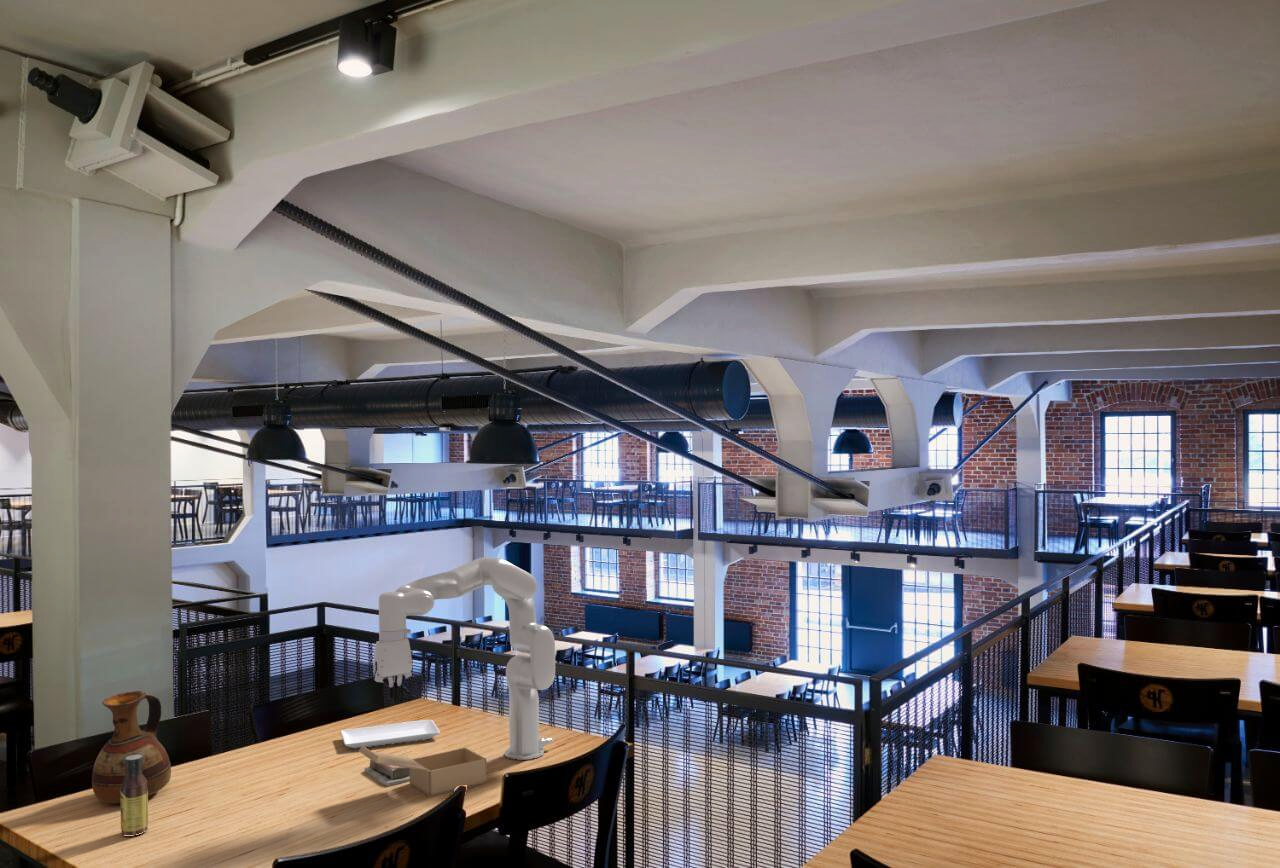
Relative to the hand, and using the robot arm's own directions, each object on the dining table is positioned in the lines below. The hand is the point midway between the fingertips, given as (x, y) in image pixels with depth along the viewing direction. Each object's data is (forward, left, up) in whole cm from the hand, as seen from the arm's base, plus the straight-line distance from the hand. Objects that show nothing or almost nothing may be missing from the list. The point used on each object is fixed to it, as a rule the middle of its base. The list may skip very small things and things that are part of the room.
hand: (393, 699), depth 267 cm
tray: (-19, -52, -28) cm, 62 cm away
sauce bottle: (+64, -16, -27) cm, 71 cm away
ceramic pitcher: (+60, -47, -27) cm, 81 cm away
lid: (0, +1, -15) cm, 15 cm away
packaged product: (-6, -17, -28) cm, 33 cm away
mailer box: (-16, +1, -27) cm, 32 cm away
